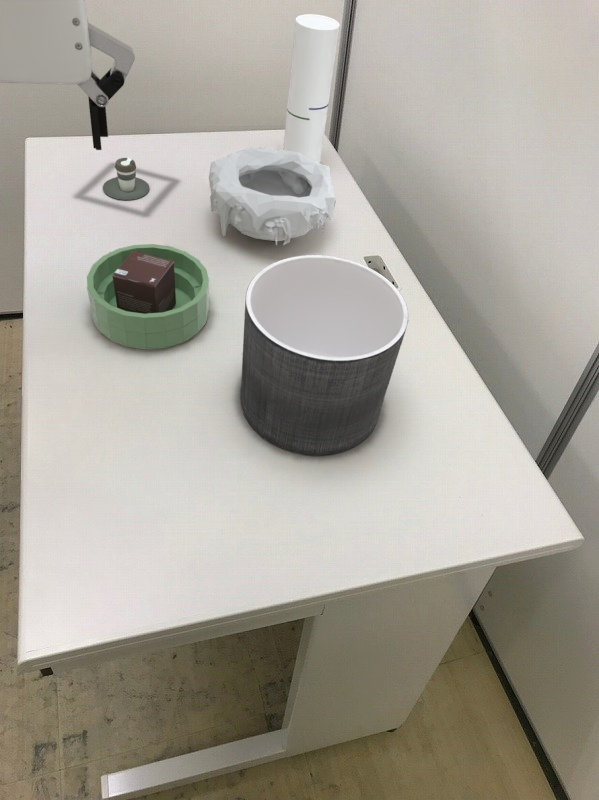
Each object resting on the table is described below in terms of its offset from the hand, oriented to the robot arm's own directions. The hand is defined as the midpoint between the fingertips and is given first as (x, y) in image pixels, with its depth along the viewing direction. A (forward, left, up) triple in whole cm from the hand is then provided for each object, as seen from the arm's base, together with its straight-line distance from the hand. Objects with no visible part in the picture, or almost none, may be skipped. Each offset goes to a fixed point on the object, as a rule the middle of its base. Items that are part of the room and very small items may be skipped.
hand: (43, 142), depth 59 cm
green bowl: (+9, +9, -29) cm, 32 cm away
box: (+8, +9, -29) cm, 31 cm away
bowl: (+30, +29, -29) cm, 51 cm away
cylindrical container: (+40, +48, -29) cm, 69 cm away
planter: (+27, -10, -29) cm, 41 cm away
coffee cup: (+8, +42, -30) cm, 52 cm away
